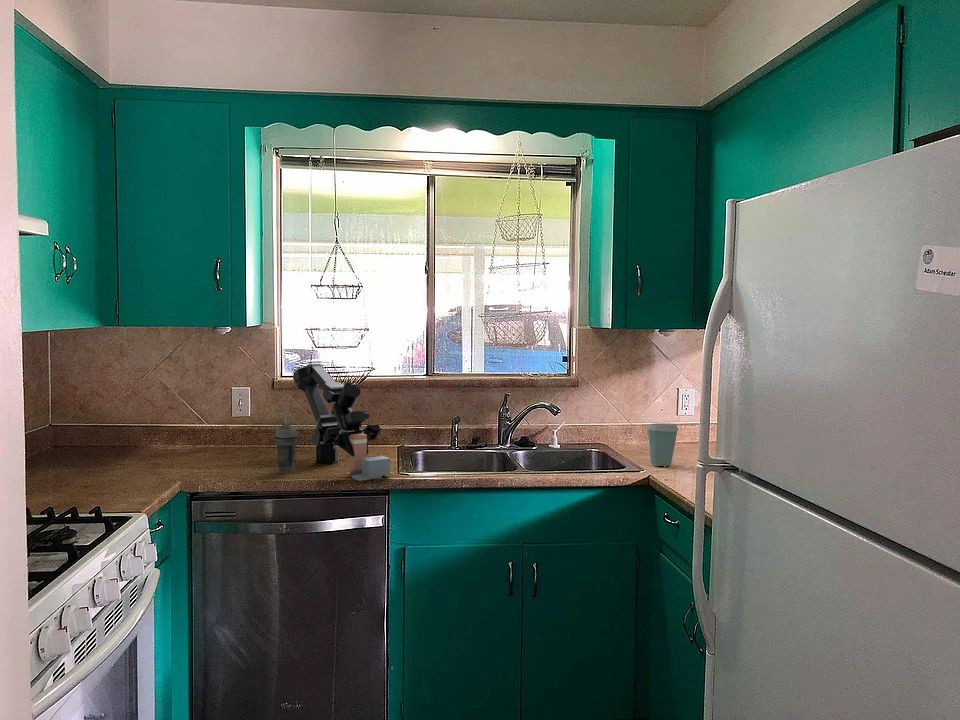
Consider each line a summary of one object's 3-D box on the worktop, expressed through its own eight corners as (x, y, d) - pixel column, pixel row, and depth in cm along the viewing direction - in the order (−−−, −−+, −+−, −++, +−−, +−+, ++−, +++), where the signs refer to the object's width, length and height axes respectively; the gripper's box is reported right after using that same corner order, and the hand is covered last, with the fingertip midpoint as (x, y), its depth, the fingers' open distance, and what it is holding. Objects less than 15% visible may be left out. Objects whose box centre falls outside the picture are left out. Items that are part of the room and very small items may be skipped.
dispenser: (350, 477, 246) (350, 458, 245) (380, 473, 252) (380, 455, 252) (359, 481, 240) (359, 461, 240) (390, 477, 247) (390, 458, 246)
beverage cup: (277, 475, 248) (277, 412, 246) (272, 470, 254) (272, 410, 253) (300, 473, 251) (300, 411, 250) (294, 468, 257) (294, 409, 256)
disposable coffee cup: (639, 465, 270) (641, 422, 269) (655, 461, 278) (657, 419, 277) (667, 470, 263) (668, 426, 262) (682, 465, 271) (684, 423, 270)
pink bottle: (349, 474, 250) (349, 434, 249) (362, 473, 252) (362, 433, 252) (354, 476, 247) (354, 435, 246) (366, 474, 250) (367, 434, 249)
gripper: (326, 403, 246) (341, 442, 238) (378, 399, 257) (394, 437, 249) (315, 424, 253) (330, 463, 245) (367, 420, 264) (382, 457, 256)
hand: (360, 455), depth 248 cm, fingers closed on pink bottle, 4 cm apart
